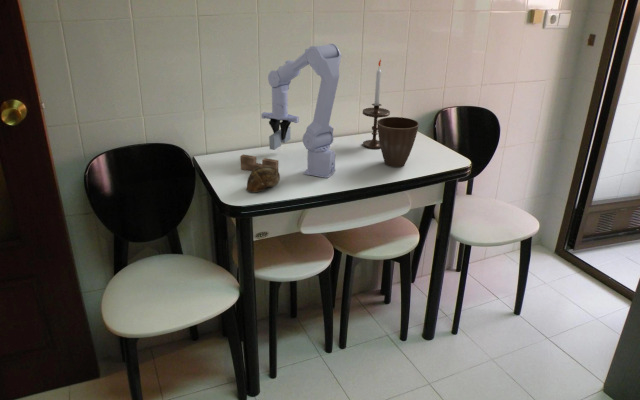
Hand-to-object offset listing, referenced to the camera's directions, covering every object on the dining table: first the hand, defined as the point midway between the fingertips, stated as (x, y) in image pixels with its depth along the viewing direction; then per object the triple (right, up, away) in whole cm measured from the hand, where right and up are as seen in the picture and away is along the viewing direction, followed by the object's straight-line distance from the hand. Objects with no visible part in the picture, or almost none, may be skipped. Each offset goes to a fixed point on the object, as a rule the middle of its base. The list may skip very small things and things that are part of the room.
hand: (280, 138), depth 193 cm
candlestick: (+37, -1, +17) cm, 41 cm away
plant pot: (+43, -10, -1) cm, 44 cm away
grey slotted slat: (0, -2, +1) cm, 2 cm away
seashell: (-4, -19, -24) cm, 31 cm away
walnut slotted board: (-7, -13, -11) cm, 18 cm away
